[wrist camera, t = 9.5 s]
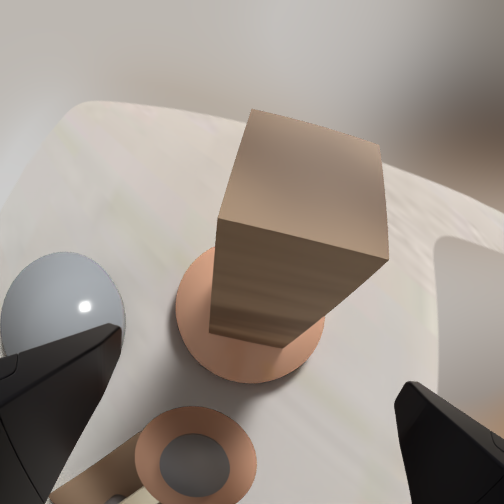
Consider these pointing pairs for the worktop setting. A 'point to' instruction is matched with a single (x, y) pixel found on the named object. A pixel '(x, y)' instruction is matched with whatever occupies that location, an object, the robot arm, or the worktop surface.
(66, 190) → the worktop surface
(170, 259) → the worktop surface
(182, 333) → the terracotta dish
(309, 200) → the walnut block
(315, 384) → the worktop surface
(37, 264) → the slate dish
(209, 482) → the balance
